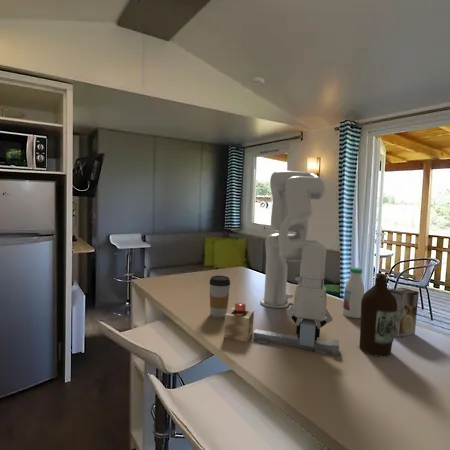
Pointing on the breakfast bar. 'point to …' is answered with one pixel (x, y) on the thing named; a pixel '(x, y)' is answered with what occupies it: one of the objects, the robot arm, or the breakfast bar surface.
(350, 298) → the milk bottle
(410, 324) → the coffee box
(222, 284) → the coffee cup
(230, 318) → the small open wooden box
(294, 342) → the guide rail
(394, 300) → the olive oil
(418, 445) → the breakfast bar surface
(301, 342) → the carriage
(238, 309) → the button
